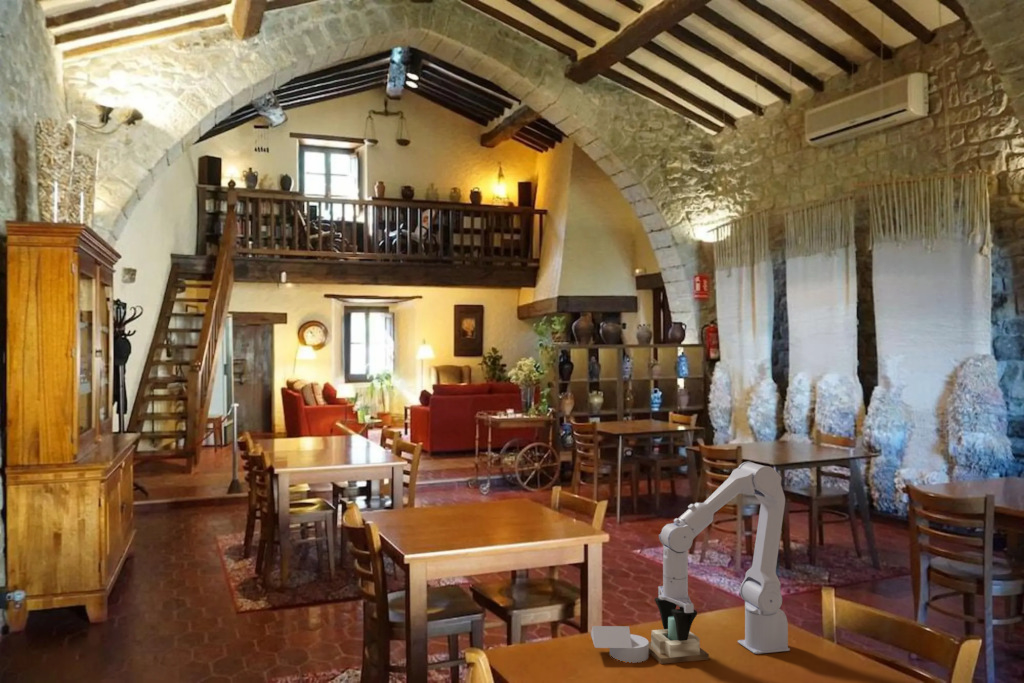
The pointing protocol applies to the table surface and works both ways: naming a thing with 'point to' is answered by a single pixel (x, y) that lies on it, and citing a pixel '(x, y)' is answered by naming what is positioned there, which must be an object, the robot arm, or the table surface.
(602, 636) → the wedge on round base
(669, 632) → the peg
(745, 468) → the robot arm
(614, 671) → the table surface
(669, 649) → the socket board
